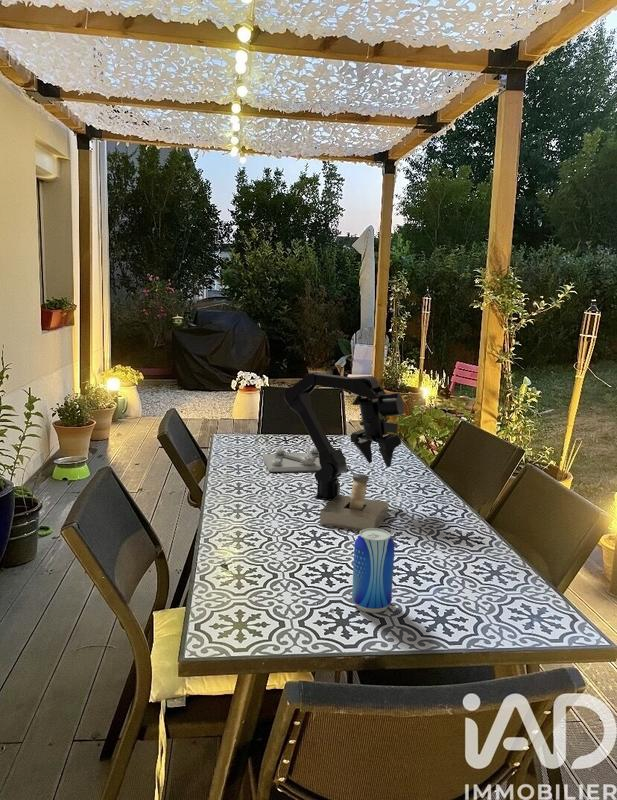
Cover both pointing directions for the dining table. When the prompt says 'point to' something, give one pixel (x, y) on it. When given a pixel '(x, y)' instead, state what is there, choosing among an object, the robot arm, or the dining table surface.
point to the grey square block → (353, 514)
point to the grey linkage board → (293, 461)
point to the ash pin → (358, 491)
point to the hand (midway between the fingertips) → (379, 464)
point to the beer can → (373, 570)
